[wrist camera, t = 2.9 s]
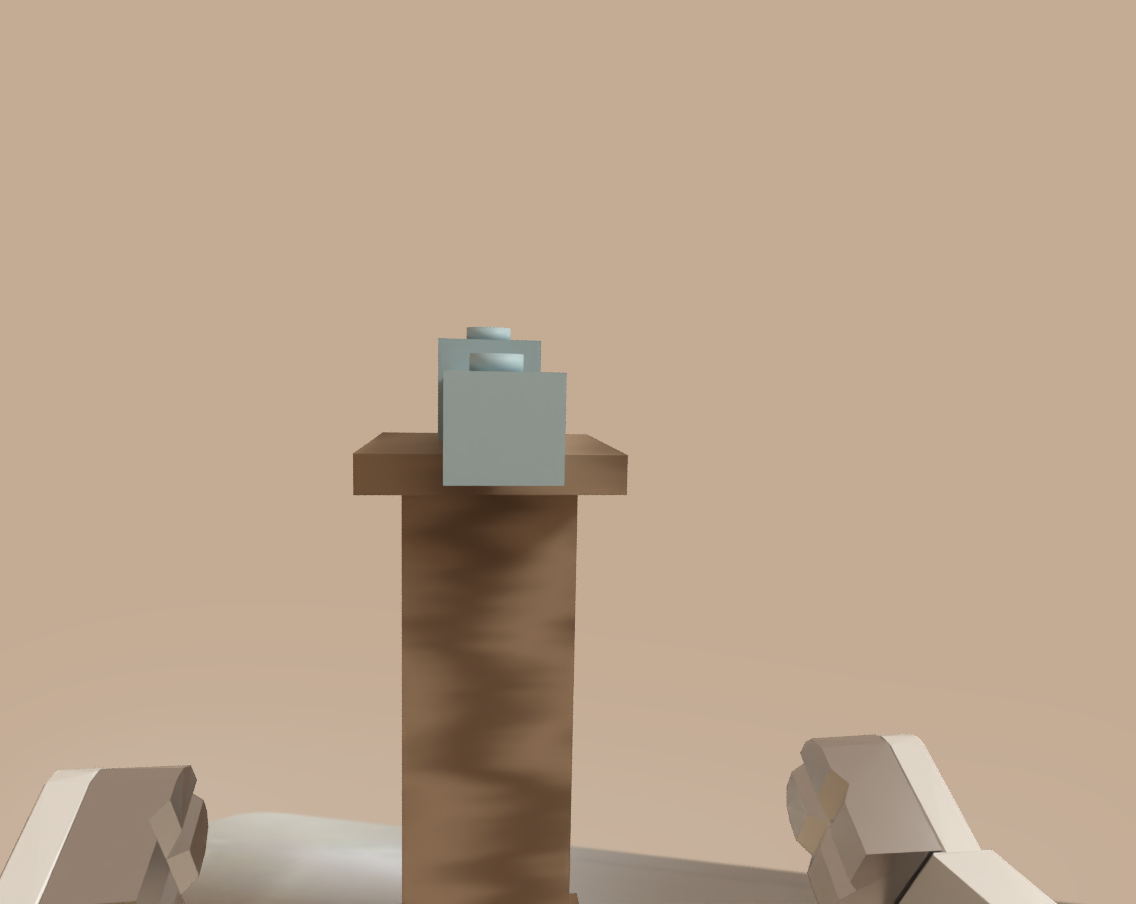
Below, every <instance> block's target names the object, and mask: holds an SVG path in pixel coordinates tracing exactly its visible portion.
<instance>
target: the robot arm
mask: <svg viewBox="0 0 1136 904" xmlns="http://www.w3.org/2000/svg"><path fill="white" fill-rule="evenodd" d="M801 756H802V759H803V761H804V764H803V765H801V766H800V767H798V768H797V769H795V770H794V771H792V773H791V776H790V779H789V782H788V784H787V809H788V814H789V819H790V823H791V826H792V829H793V833H794V836H795V838H796V841H798V842H799V843H800V844H801V845H802V846H803V847H804V848H805V849H806V850H807V851H808V852H809V853H810V854H811V855H812V858H811V862H810V865H809V869H808V872H807V873H808V876H809V879H810V882H811V885H812V888H813V891H814V893H815V896H816V899H817V902H818V904H1057V903H1056V902H1054V901H1053V900H1052V899H1051V898H1050V897H1048V896H1047V895H1046V894H1045V893H1044V892H1042V891H1041V890H1040V889H1039V888H1038V887H1036V886H1035V885H1034V884H1033V883H1032V882H1030V881H1029V880H1028V879H1027V878H1026V877H1024V876H1023V875H1022V874H1021V873H1019V872H1018V871H1017V870H1016V869H1015V868H1013V867H1012V866H1011V865H1010V864H1009V863H1007V862H1006V861H1005V860H1004V859H1003V858H1001V857H1000V856H999V855H998V854H996V853H995V852H994V851H992V849H983V850H982V849H981V848H980V846H979V844H978V843H977V841H976V839H975V837H974V835H973V834H972V832H971V830H970V828H969V826H968V824H967V822H966V821H965V819H964V817H963V815H962V813H961V811H960V809H959V808H958V806H957V804H956V802H955V800H954V799H953V797H952V795H951V793H950V791H949V789H948V788H947V786H946V784H945V782H944V780H943V778H942V776H941V775H940V773H939V771H938V769H937V767H936V765H935V764H934V762H933V760H932V758H931V756H930V754H929V752H928V751H927V749H926V747H925V745H924V743H923V742H922V741H921V740H920V739H919V738H918V737H917V736H916V735H912V734H892V735H861V736H845V737H829V738H813V739H810V740H809V741H807V742H805V744H804V746H803V748H802V750H801ZM196 781H197V779H196V777H195V774H194V772H193V769H192V767H191V765H187V766H186V765H185V766H161V767H137V768H112V769H107V768H93V769H74V770H57V771H56V772H55V773H54V774H53V775H52V776H51V778H50V779H49V780H48V781H47V782H46V784H45V785H44V786H43V788H42V790H41V792H40V794H39V796H38V799H37V801H36V803H35V805H34V807H33V809H32V811H31V813H30V815H29V817H28V819H27V822H26V824H25V826H24V828H23V830H22V832H21V834H20V836H19V838H18V840H17V842H16V845H15V847H14V849H13V851H12V853H11V855H10V857H9V859H8V861H7V864H6V866H5V867H4V870H3V872H2V874H1V876H0V904H184V901H183V899H182V896H181V895H182V893H183V892H184V891H185V890H186V889H187V888H188V887H189V886H190V885H191V884H192V883H193V882H194V881H195V880H196V879H197V878H198V876H199V874H200V870H201V866H202V862H203V858H204V854H205V849H206V840H207V832H208V819H207V810H206V807H205V803H204V800H203V799H201V798H199V797H198V796H196V795H194V794H193V791H194V788H195V784H196Z"/></svg>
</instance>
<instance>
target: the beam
mask: <svg viewBox="0 0 1136 904" xmlns="http://www.w3.org/2000/svg"><path fill="white" fill-rule="evenodd" d="M510 332H511V329H509V328H496V327H469V328H467V339H446V338H439V339H438V341H439V343H438V441H443V486H564V479H565V428H566V427H565V426H566V375H567V373H553V372H552V373H551V372H540V366H541V364H540V363H541V341H523V340H521V341H520V340H510V337H511V334H510Z"/></svg>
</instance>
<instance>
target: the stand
mask: <svg viewBox="0 0 1136 904" xmlns="http://www.w3.org/2000/svg"><path fill="white" fill-rule="evenodd" d="M627 464H628V456H627V455H626V454H624V453H622V452H620V451H618V450H616V449H614V448H612V447H610V446H608V445H606V444H604V443H603V442H600V441H598V440H597V439H595V438H593V437H591V436H589V435H584V434H583V435H582V434H565V479H564V486H443V441H438V433H381V434H380V435H379V436H377V437H376V438H374V439H373V440H372V441H370V442H369V443H368V444H366V445H365V446H363V447H362V448H360V449H359V450H357V451H356V452H355V453H353V487H354V490H353V492H354V493H353V494H354V495H402V904H579V902H578V898H577V893H573V894H569V875H570V828H571V780H572V778H571V777H572V733H573V732H572V731H573V729H572V728H573V686H574V636H575V591H576V589H575V588H576V544H577V543H576V542H577V540H576V539H577V497H578V495H627Z"/></svg>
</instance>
